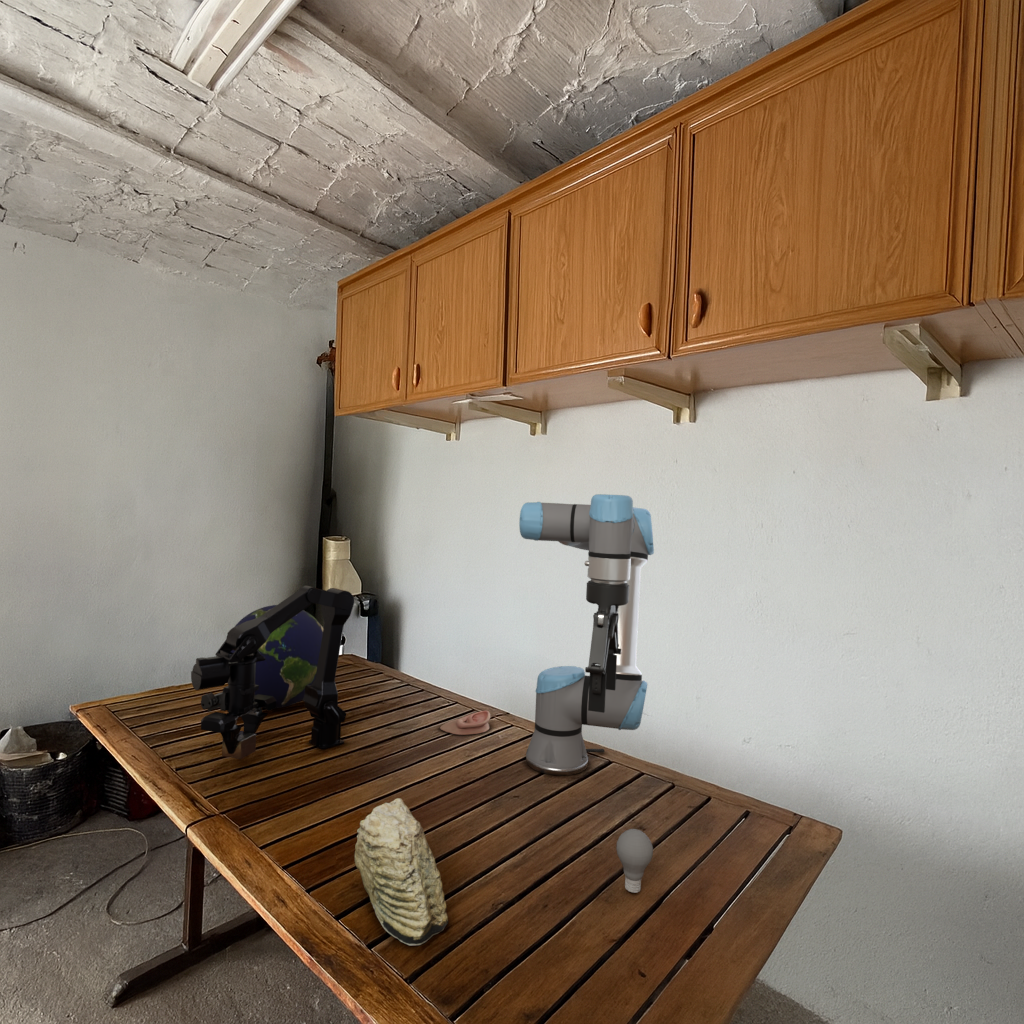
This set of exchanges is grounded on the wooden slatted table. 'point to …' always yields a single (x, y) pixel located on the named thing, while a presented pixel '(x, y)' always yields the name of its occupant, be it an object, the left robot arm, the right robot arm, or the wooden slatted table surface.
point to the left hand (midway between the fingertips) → (239, 749)
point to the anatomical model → (468, 724)
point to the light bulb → (634, 857)
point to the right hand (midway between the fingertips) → (602, 699)
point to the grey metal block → (242, 746)
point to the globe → (288, 657)
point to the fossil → (400, 874)
